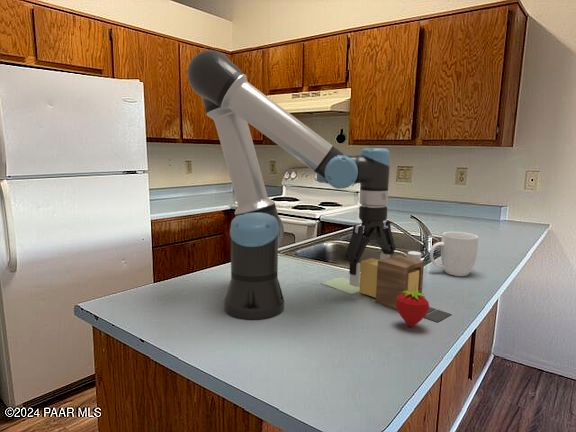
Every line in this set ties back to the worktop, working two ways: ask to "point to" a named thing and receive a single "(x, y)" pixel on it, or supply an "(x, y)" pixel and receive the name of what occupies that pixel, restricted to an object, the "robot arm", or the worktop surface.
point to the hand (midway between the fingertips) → (369, 280)
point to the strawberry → (412, 307)
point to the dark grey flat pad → (436, 315)
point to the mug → (457, 252)
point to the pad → (342, 285)
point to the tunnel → (395, 278)
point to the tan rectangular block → (370, 278)
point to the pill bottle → (414, 255)
